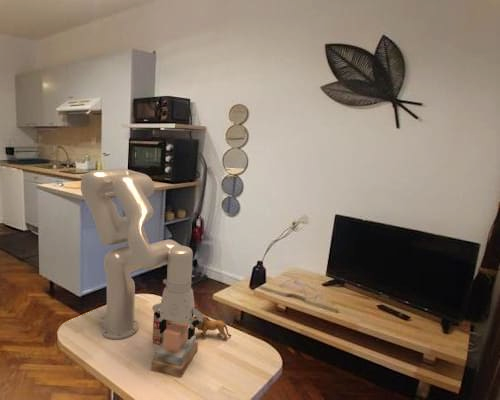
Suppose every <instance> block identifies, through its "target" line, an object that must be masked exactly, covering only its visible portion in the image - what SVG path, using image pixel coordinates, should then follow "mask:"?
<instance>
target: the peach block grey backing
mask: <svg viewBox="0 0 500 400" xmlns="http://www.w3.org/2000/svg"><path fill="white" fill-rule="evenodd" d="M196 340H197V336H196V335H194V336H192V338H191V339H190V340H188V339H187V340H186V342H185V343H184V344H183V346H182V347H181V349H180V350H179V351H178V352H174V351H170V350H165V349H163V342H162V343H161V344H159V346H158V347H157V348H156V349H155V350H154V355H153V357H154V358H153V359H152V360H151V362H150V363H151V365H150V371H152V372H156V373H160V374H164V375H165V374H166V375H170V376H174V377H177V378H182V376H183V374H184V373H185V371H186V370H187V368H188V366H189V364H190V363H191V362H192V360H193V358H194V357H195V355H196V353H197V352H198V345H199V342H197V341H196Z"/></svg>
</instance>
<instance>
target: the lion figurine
mask: <svg viewBox="0 0 500 400" xmlns="http://www.w3.org/2000/svg"><path fill="white" fill-rule="evenodd" d="M193 317H194V319H195V320H197V319H198V317H197V316H195V315H194V316H193ZM196 328H197V330H198V331H202V332H201V333H200V334H201V339H202V340H205V339H206V338H207V332H208V331H216V330H218V333H217V336H221V335H222V336H223V337H224V338H223V341H224V342H226V341H227V340H228V337H232V334H230V333H229V330H228V326H227V324H226V323H225V322H224V321H222V320H221V319H219V320H212V319H210V318H209V317H208V316H205V315H204V317H203V318H202V320H201V321H200V323H199V324H198V325H197V326H195V329H196ZM225 331H226V332H225Z"/></svg>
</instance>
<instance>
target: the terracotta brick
mask: <svg viewBox="0 0 500 400" xmlns="http://www.w3.org/2000/svg"><path fill="white" fill-rule="evenodd" d="M189 327H190V326H189V325H188V324H187V323H186V324H184V323H179V322H174V321H173V322H172V323H171V324H170V325H169V326H168V328H167V329H166V330H165V331H164V340H163V349H165V350H170V351H174V352H178V351H179V350H180V349H181V347H182V346H183V344H184V343H185V342H186V340H187V339H188V329H189Z"/></svg>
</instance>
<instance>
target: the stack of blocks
mask: <svg viewBox="0 0 500 400" xmlns="http://www.w3.org/2000/svg"><path fill="white" fill-rule="evenodd" d="M159 311H160V308H159ZM154 314H155V313H154V312H153V323H152V325H153V326H152V327H153V328H152V344H153V345H154V344H155V345H160V344H161V343H162V342H163V340H164V332H163V333H162V334H160V329H159V322H158V319H157V317H156V316H155V315H154ZM172 322H173V321H169V320H166V329H167V328H168V326H169V325H170V324H171V323H172Z"/></svg>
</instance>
